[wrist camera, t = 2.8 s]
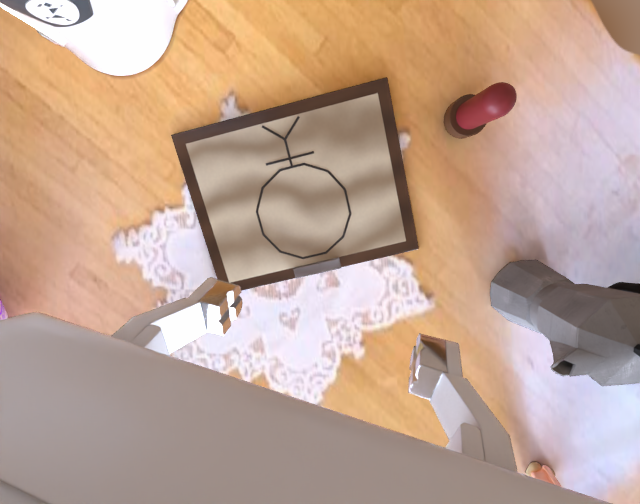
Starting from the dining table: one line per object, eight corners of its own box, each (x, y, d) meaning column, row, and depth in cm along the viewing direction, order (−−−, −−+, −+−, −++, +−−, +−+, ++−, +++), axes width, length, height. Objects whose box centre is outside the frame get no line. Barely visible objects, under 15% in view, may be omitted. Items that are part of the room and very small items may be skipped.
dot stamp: (438, 106, 38) (478, 76, 28) (475, 96, 38) (528, 63, 28) (444, 143, 39) (485, 127, 29) (480, 134, 38) (534, 114, 29)
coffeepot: (489, 338, 44) (601, 436, 26) (464, 283, 42) (565, 348, 25) (592, 290, 42) (785, 360, 25) (569, 231, 41) (758, 261, 23)
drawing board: (172, 135, 39) (167, 133, 38) (386, 78, 37) (388, 74, 36) (223, 294, 43) (220, 297, 42) (417, 248, 41) (421, 250, 40)
